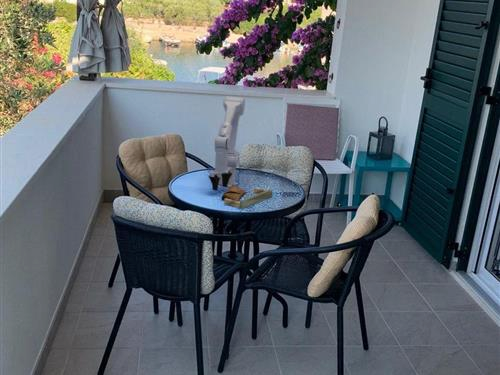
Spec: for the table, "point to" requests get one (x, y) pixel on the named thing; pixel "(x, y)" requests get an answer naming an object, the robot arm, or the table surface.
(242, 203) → the dock
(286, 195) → the table surface
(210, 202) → the table surface
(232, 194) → the sunglasses case
